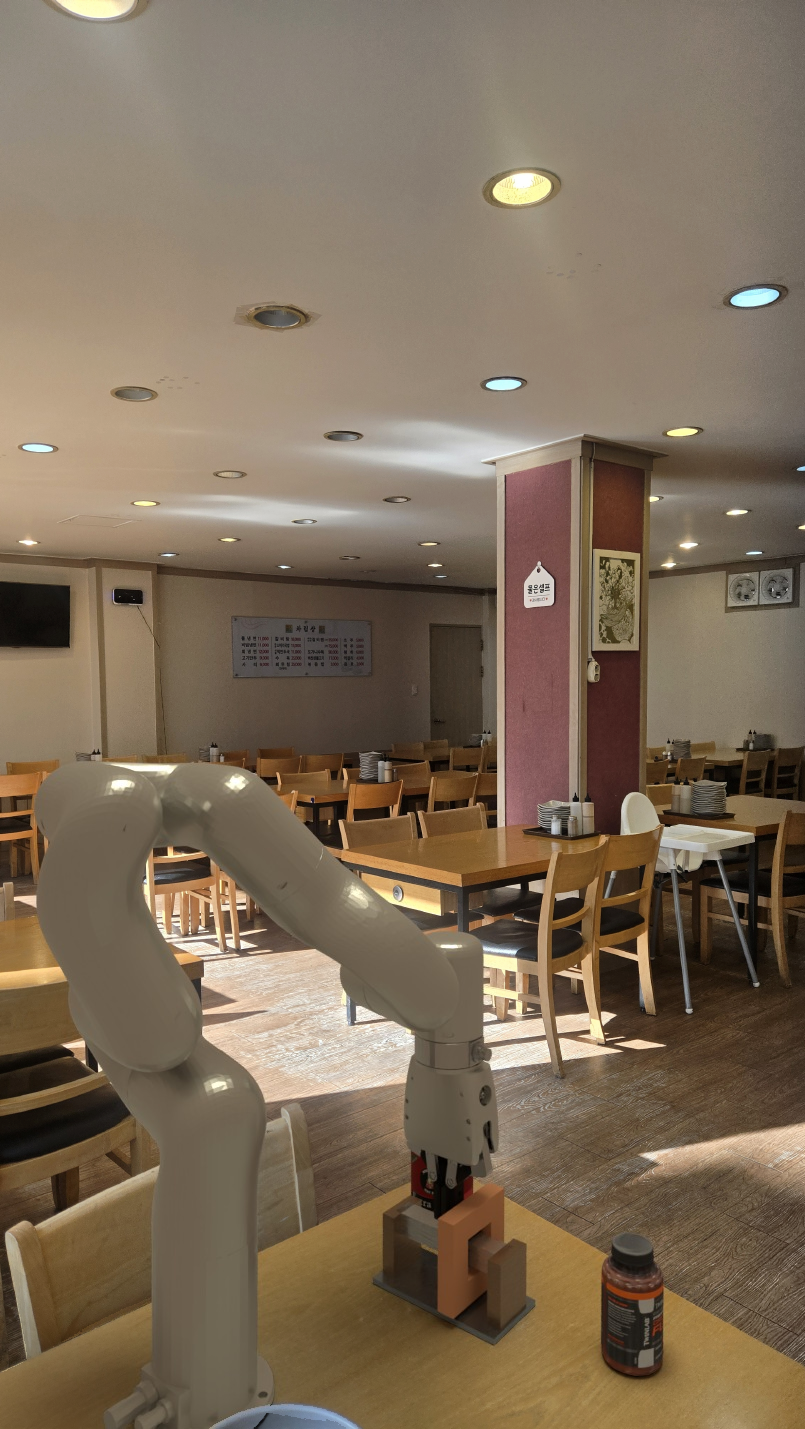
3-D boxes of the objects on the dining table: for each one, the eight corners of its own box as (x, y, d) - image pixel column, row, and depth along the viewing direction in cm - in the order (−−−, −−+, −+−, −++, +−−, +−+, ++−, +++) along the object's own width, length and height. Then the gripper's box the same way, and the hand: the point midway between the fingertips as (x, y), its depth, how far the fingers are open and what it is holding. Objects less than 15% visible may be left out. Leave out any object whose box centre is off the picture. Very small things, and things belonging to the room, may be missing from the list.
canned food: (401, 1230, 113) (401, 1140, 113) (424, 1198, 121) (425, 1114, 121) (460, 1244, 110) (460, 1152, 110) (481, 1211, 118) (481, 1124, 118)
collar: (437, 1310, 96) (437, 1218, 96) (488, 1267, 104) (489, 1182, 104) (453, 1318, 95) (453, 1225, 95) (504, 1274, 103) (504, 1187, 103)
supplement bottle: (665, 1384, 88) (666, 1264, 88) (601, 1374, 89) (601, 1256, 89) (661, 1341, 94) (661, 1229, 94) (600, 1333, 95) (601, 1223, 95)
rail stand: (372, 1282, 103) (372, 1216, 103) (416, 1250, 109) (417, 1187, 109) (494, 1345, 93) (494, 1271, 93) (535, 1305, 99) (535, 1236, 99)
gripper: (526, 1054, 100) (525, 1225, 100) (416, 1024, 109) (415, 1180, 109) (487, 1075, 94) (486, 1257, 94) (374, 1042, 103) (373, 1207, 103)
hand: (448, 1215), depth 101 cm, fingers closed
